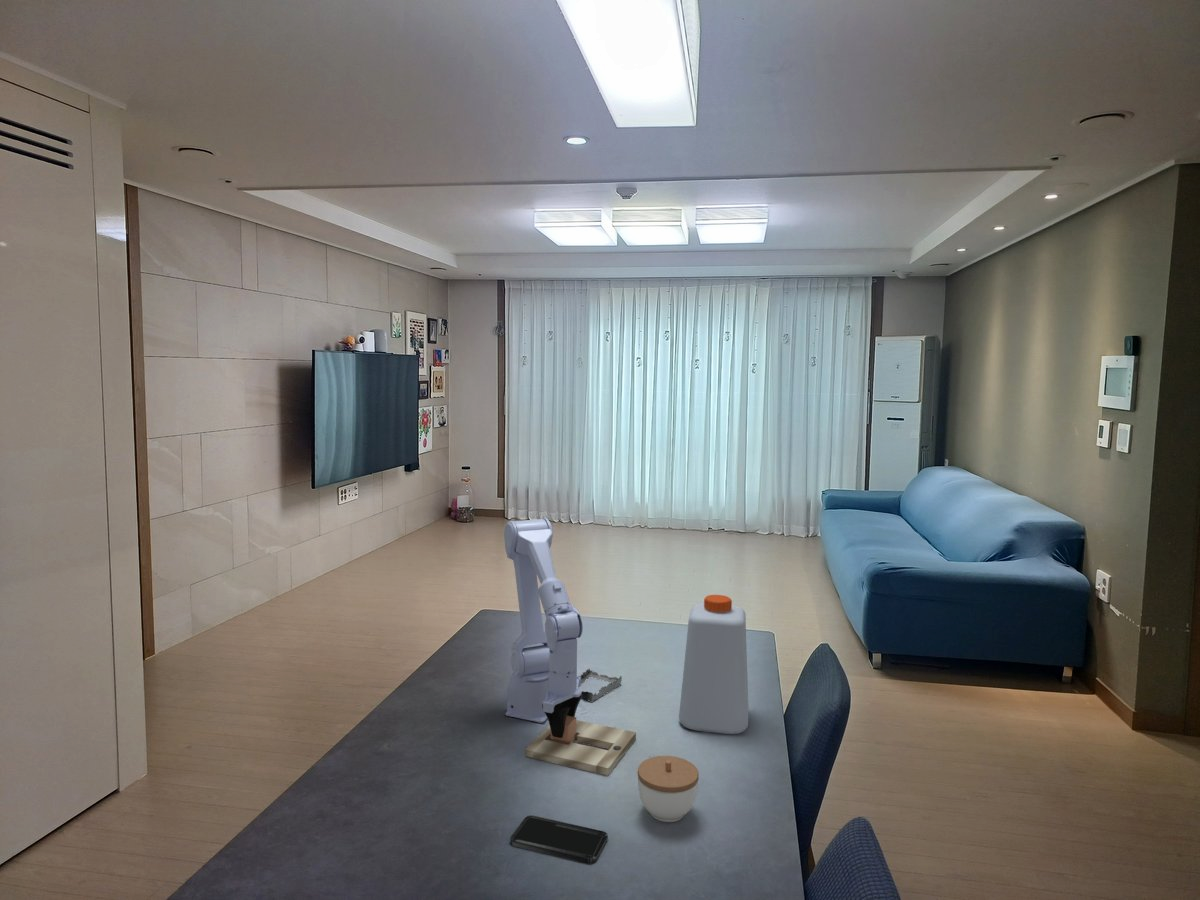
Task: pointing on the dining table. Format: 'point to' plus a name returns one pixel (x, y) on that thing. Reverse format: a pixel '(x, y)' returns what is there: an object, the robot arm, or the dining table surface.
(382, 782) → the dining table surface
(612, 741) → the keyhole board
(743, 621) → the plastic bottle
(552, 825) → the phone
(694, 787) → the lidded jar
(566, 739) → the slider block
